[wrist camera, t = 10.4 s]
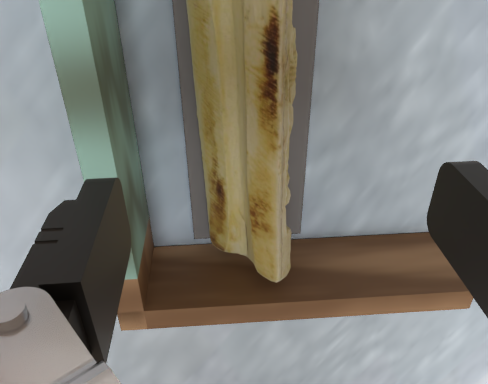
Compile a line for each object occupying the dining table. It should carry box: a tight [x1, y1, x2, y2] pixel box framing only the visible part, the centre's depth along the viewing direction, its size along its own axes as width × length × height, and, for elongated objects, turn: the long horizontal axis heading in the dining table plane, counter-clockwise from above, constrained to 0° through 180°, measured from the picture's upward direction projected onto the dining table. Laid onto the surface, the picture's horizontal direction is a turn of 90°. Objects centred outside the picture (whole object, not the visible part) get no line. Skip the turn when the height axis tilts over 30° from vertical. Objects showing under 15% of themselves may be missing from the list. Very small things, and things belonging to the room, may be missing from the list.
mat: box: [172, 0, 319, 239], centre depth 22 cm, size 24×7×1 cm, turn 0°
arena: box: [39, 0, 473, 331], centre depth 21 cm, size 24×21×6 cm
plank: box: [186, 0, 297, 283], centre depth 20 cm, size 23×5×5 cm, turn 3°
